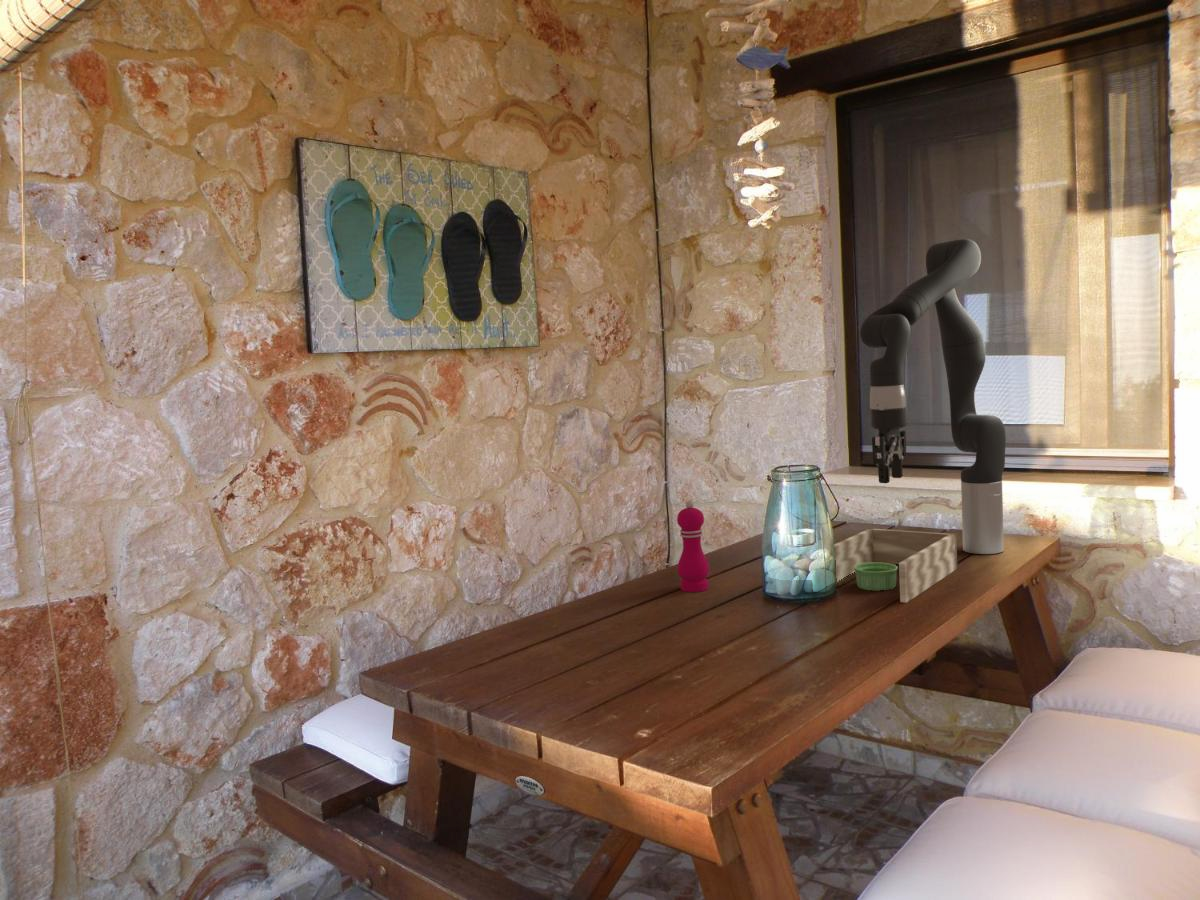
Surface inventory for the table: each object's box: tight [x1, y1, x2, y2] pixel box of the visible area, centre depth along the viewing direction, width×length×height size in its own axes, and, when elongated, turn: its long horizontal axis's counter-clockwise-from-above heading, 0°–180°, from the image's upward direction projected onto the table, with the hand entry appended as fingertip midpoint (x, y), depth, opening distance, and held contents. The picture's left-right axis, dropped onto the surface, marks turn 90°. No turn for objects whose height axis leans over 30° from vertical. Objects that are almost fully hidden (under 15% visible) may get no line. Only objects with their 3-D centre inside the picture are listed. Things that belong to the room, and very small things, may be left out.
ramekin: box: [854, 562, 899, 592], centre depth 196 cm, size 9×9×4 cm
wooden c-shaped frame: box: [833, 528, 958, 604], centre depth 201 cm, size 32×20×8 cm, turn 141°
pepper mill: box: [676, 500, 711, 593], centre depth 204 cm, size 7×7×20 cm
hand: (890, 480), depth 201 cm, fingers open, 7 cm apart
